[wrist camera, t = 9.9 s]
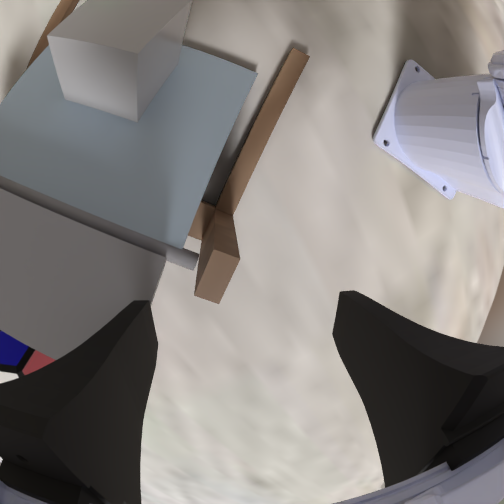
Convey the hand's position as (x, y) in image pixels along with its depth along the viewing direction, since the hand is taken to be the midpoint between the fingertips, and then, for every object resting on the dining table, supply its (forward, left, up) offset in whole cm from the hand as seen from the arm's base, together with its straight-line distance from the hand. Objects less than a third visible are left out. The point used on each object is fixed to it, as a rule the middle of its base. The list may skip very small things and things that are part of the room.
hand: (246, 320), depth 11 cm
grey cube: (+10, -7, -7) cm, 14 cm away
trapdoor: (+10, -2, -6) cm, 12 cm away
